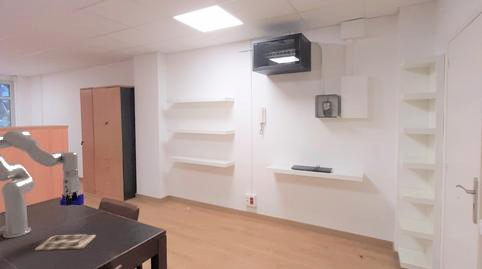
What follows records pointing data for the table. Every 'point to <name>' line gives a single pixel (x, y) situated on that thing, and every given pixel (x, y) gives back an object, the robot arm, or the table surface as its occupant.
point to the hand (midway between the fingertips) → (71, 202)
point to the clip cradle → (66, 242)
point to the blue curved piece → (78, 202)
